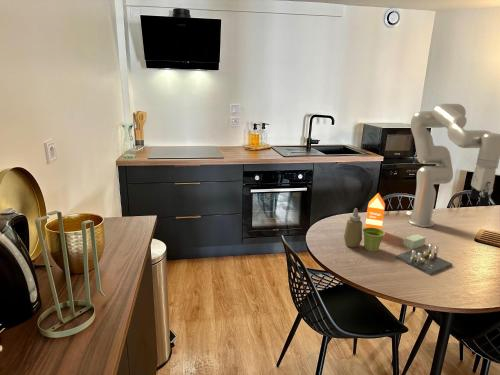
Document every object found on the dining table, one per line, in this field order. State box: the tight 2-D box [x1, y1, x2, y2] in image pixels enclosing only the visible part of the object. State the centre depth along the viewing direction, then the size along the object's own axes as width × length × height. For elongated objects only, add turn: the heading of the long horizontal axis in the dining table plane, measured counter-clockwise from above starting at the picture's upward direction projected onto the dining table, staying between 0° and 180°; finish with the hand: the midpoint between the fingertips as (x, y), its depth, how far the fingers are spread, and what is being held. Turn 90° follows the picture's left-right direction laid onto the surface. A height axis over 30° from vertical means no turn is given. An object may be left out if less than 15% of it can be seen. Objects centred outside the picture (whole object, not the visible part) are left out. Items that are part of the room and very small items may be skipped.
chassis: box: [395, 243, 453, 276], centre depth 146 cm, size 16×15×6 cm
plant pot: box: [362, 227, 386, 252], centre depth 156 cm, size 9×9×9 cm
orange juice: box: [364, 192, 386, 230], centre depth 172 cm, size 8×9×20 cm
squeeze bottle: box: [343, 207, 363, 248], centre depth 158 cm, size 8×8×18 cm
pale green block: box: [403, 233, 427, 250], centre depth 162 cm, size 4×9×4 cm, turn 120°
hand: (478, 202), depth 149 cm, fingers open, 9 cm apart
